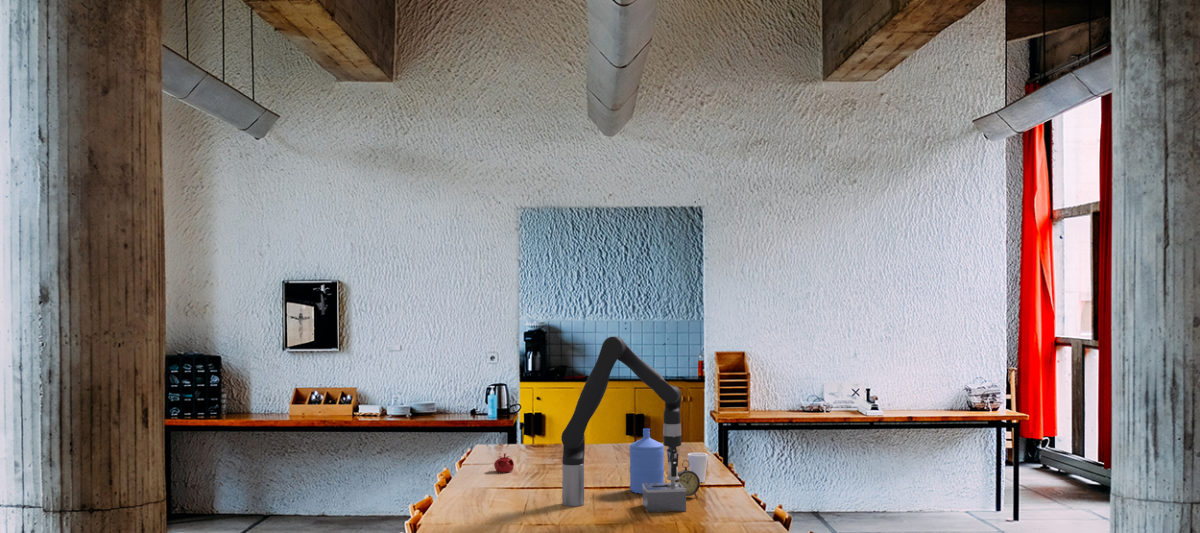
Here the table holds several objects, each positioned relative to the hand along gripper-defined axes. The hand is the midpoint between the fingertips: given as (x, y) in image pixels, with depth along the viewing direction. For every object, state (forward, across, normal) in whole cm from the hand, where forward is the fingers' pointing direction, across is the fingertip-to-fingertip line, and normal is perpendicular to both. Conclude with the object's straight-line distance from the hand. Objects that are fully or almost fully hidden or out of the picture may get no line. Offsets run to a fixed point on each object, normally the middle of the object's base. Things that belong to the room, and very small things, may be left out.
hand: (672, 475), depth 378 cm
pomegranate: (+13, -90, -71) cm, 115 cm away
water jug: (+14, -34, -6) cm, 37 cm away
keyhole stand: (+13, 0, -4) cm, 14 cm away
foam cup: (+14, -51, +21) cm, 57 cm away
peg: (+5, 0, 0) cm, 5 cm away
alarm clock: (+14, -18, +9) cm, 24 cm away
